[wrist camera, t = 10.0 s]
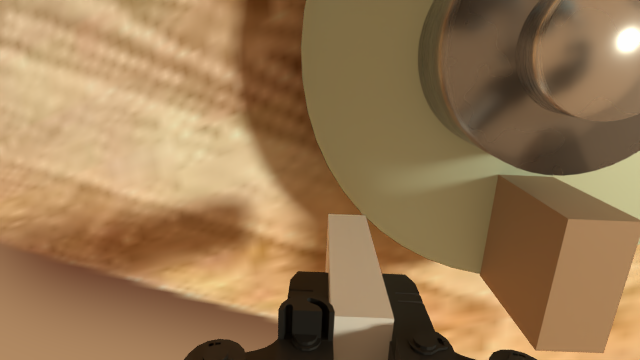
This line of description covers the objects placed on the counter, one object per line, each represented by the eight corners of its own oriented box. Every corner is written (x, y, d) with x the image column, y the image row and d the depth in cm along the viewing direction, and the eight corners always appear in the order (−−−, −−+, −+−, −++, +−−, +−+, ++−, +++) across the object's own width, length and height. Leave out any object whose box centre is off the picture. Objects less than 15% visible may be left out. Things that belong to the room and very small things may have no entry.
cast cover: (402, 140, 16) (440, 176, 11) (437, -74, 14) (507, -157, 9) (585, 158, 17) (708, 202, 11) (650, -51, 14) (842, -117, 9)
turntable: (298, 248, 20) (285, 340, 13) (310, -237, 14) (300, -502, 8) (676, 263, 20) (850, 362, 14) (843, -212, 14) (1298, -452, 8)
